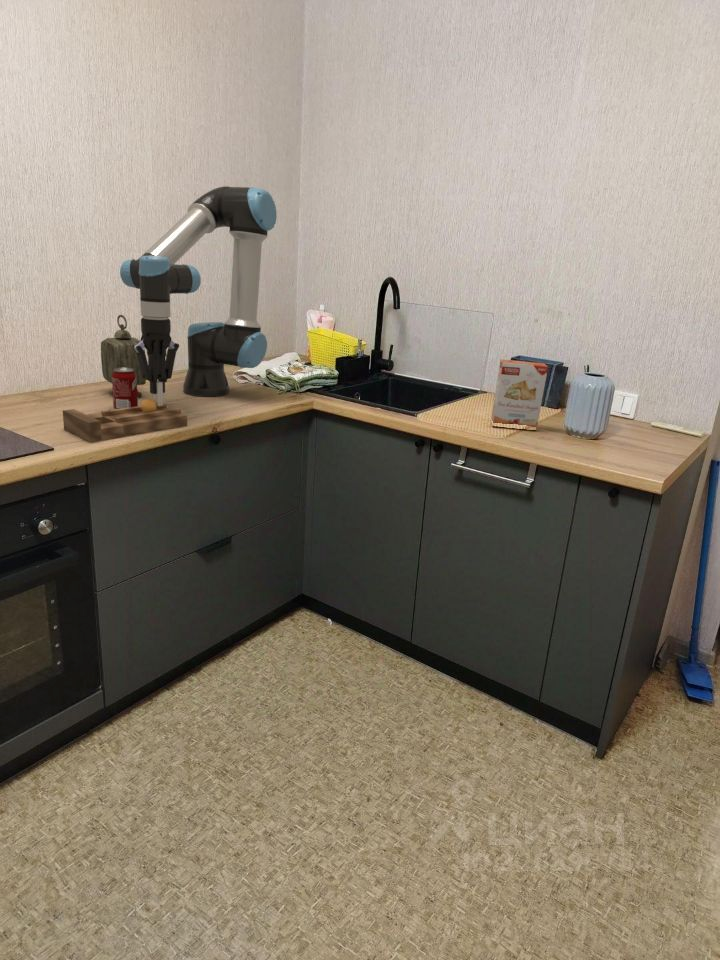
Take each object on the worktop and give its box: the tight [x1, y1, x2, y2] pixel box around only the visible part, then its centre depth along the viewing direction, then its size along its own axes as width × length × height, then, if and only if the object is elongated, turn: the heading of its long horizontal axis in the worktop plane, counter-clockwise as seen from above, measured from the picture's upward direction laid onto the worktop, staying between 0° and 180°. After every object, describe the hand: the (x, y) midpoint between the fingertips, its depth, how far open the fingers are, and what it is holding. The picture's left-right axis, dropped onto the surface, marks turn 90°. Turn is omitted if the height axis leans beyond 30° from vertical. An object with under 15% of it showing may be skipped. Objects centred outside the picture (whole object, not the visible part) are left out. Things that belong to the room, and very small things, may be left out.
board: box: [62, 402, 188, 443], centre depth 174 cm, size 28×14×5 cm, turn 138°
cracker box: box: [490, 359, 549, 428], centre depth 204 cm, size 14×6×21 cm, turn 86°
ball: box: [140, 398, 157, 413], centre depth 178 cm, size 4×4×4 cm
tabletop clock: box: [100, 314, 147, 398], centre depth 205 cm, size 14×9×25 cm, turn 40°
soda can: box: [111, 368, 139, 410], centre depth 190 cm, size 7×7×12 cm
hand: (158, 404), depth 180 cm, fingers closed
